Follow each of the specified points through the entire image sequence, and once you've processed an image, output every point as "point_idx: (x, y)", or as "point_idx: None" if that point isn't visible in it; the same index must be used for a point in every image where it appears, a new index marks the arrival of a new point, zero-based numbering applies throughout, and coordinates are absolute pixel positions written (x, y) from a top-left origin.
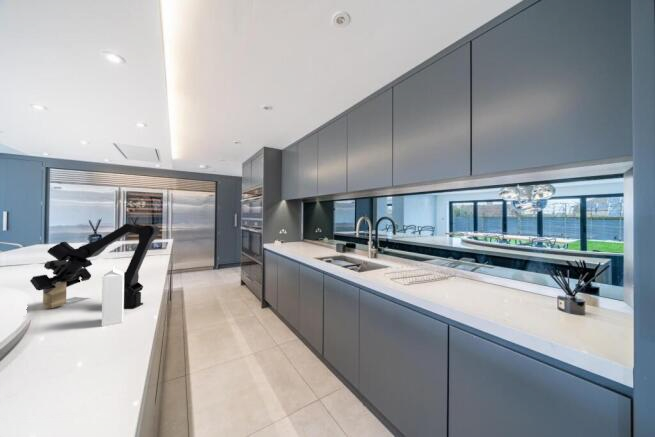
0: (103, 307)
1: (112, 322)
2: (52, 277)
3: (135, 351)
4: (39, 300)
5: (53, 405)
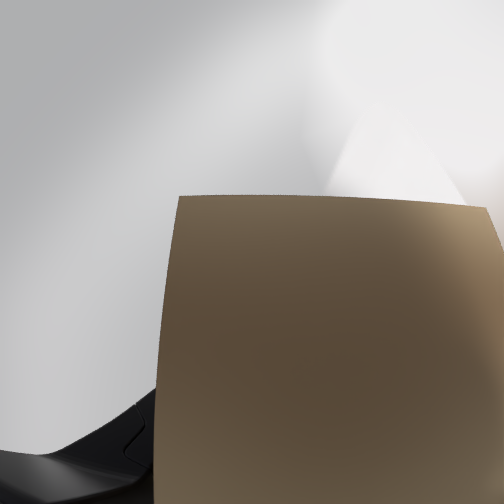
0: None
1: None
2: (390, 221)
3: None
4: (349, 142)
5: None
